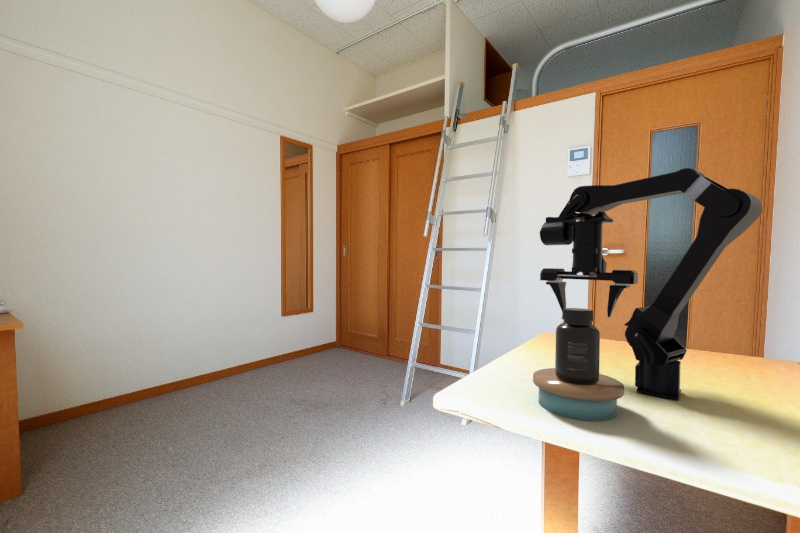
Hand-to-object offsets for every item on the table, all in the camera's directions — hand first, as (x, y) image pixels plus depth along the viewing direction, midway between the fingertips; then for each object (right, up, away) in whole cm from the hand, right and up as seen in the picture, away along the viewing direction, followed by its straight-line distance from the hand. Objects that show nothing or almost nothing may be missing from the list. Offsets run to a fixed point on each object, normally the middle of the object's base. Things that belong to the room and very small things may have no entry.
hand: (585, 314), depth 83 cm
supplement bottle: (-11, -9, -19) cm, 24 cm away
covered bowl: (-11, -13, -19) cm, 26 cm away
